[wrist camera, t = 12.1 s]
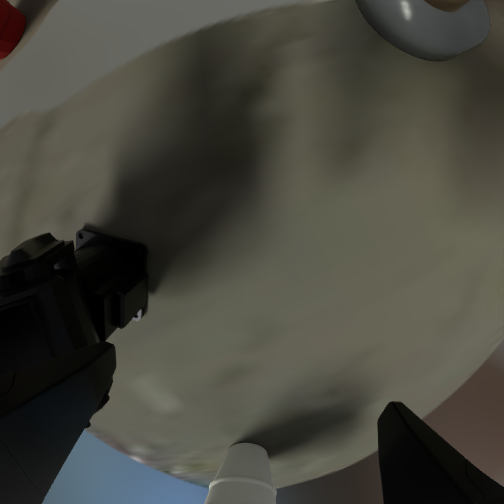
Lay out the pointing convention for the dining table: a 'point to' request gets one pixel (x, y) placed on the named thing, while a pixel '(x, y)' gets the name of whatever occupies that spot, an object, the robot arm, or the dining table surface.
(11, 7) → the plastic cup
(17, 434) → the robot arm
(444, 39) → the grey round bowl
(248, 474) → the soft serve ice cream cone
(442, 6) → the oak pillar
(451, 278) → the dining table surface
